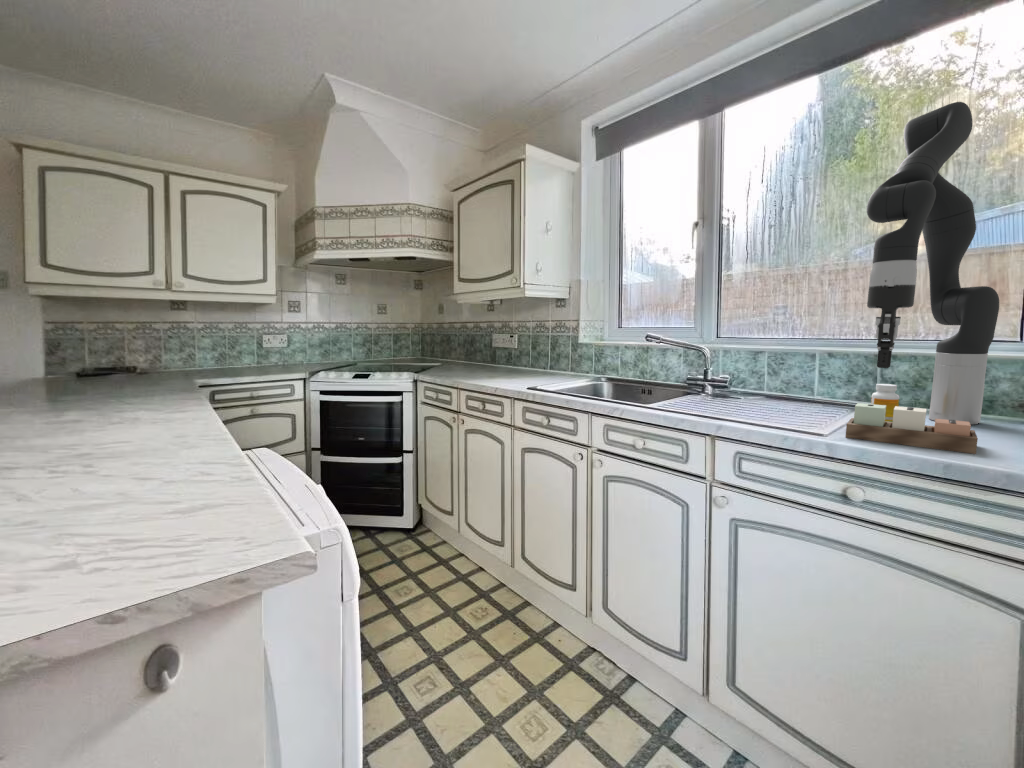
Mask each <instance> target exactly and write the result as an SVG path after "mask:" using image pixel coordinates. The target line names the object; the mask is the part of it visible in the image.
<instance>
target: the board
mask: <svg viewBox="0 0 1024 768" xmlns="http://www.w3.org/2000/svg"><path fill="white" fill-rule="evenodd" d="M853 423H854V417H851V418H850V419H849V421H848V422H847V423H846V426H845V427H846V428H845V438H847V439H854V438H855V440H862V439H863V441H869V442H870V441H871V442H879V443H886V444H893V443H894V444H895V445H901V444H902V445H903V446H910V447H917V448H925V449H932V450H933V449H934V450H942V451H949V452H958V453H964V454H971V455H972V454H973V455H976V454H977V447H978V439H979V437H978V435H977V433H976V430H974V429H973V430H972V429H970V436H962V435H953V434H944V433H935V432H934V425H926V424H925V428H924V431H917V430H908V429H899V428H892V423H893V422H889V421H885V424H884V426H883V427H881V426H872V425H863V424H853Z"/></svg>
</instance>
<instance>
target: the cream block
mask: <svg viewBox="0 0 1024 768" xmlns="http://www.w3.org/2000/svg"><path fill="white" fill-rule="evenodd" d="M926 416H927V408H920V407H912V406H899V407H898V406H895V408H894V413H893V423H892V428H899V429H908V430H917V431H924V428H925V425H926V418H927V417H926Z"/></svg>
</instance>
